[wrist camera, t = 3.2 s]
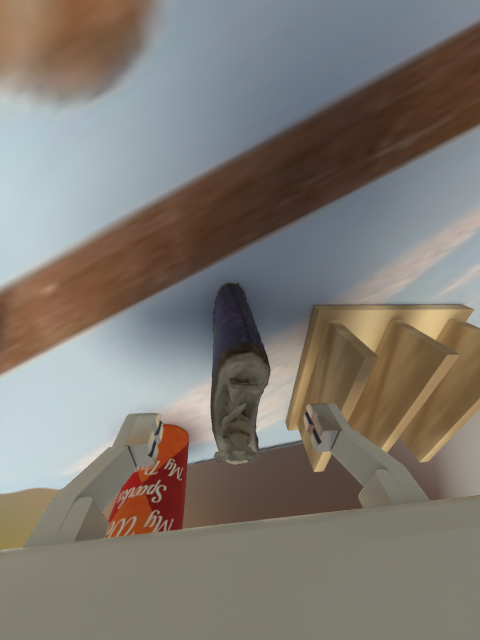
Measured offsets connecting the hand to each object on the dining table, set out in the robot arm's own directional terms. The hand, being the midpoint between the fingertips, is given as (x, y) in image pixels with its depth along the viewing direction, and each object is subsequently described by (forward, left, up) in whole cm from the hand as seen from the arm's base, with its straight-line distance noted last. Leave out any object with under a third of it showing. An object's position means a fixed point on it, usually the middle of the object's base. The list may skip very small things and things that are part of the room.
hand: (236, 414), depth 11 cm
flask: (0, 0, -8) cm, 8 cm away
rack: (+6, +15, -8) cm, 18 cm away
